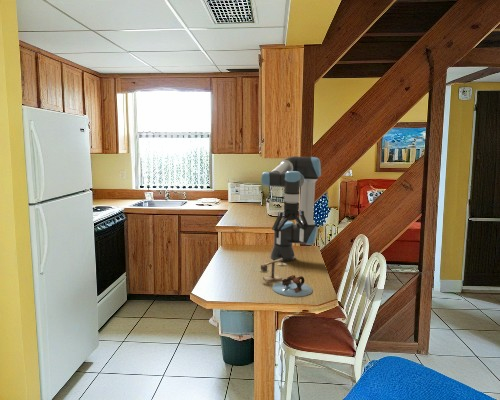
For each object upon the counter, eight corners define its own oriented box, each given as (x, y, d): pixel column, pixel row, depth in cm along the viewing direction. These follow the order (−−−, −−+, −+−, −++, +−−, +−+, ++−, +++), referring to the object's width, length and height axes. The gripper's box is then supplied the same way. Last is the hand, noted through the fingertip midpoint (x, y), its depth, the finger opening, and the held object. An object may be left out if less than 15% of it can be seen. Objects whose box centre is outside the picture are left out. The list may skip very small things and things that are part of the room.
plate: (299, 280, 219) (299, 279, 219) (320, 293, 201) (320, 292, 201) (265, 284, 211) (265, 283, 211) (284, 298, 193) (284, 297, 193)
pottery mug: (292, 295, 197) (285, 279, 198) (283, 297, 205) (276, 282, 206) (311, 285, 203) (304, 270, 204) (301, 288, 211) (295, 273, 212)
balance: (283, 276, 224) (284, 256, 223) (287, 279, 220) (288, 259, 218) (257, 279, 218) (257, 259, 216) (261, 282, 213) (262, 261, 212)
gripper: (308, 199, 215) (306, 238, 218) (266, 201, 204) (265, 242, 208) (316, 201, 208) (314, 242, 212) (273, 204, 198) (271, 246, 201)
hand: (290, 242), depth 210 cm, fingers open, 13 cm apart
